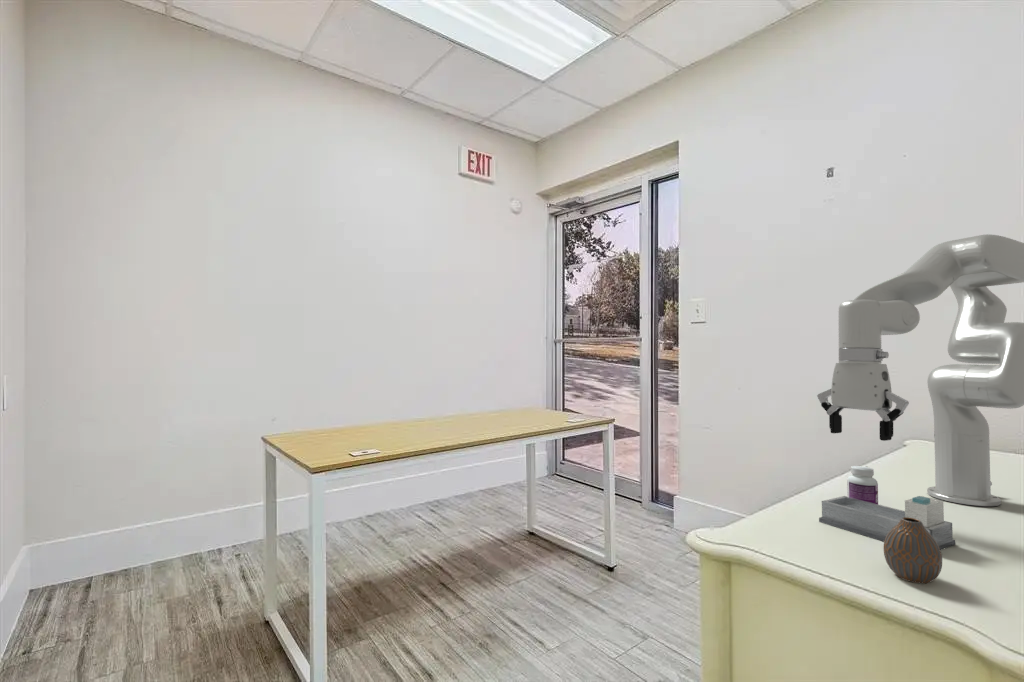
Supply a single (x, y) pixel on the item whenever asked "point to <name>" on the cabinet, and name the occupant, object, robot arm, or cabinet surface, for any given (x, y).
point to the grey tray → (887, 517)
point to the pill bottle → (862, 484)
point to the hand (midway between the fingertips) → (859, 436)
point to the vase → (912, 552)
